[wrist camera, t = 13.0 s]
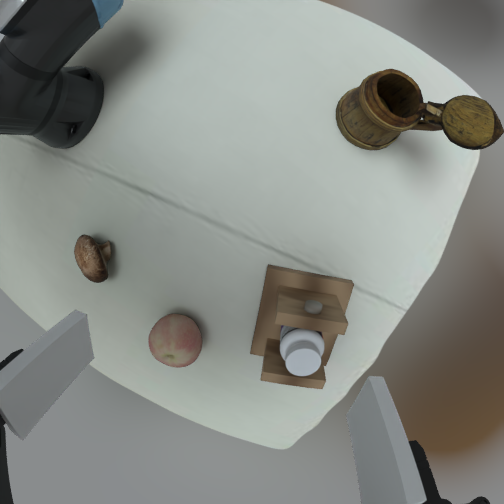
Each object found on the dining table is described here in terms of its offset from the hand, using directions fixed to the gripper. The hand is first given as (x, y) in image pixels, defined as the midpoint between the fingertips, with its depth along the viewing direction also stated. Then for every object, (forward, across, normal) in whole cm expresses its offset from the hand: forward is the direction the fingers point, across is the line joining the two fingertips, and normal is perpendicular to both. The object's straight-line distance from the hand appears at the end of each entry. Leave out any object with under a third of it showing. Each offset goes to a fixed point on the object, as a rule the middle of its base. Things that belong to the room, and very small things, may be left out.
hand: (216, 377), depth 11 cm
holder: (+26, +8, -10) cm, 29 cm away
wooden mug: (+27, +14, +19) cm, 36 cm away
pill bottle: (+25, +8, -10) cm, 28 cm away
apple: (+27, -9, -16) cm, 33 cm away
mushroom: (+27, -25, -8) cm, 38 cm away
